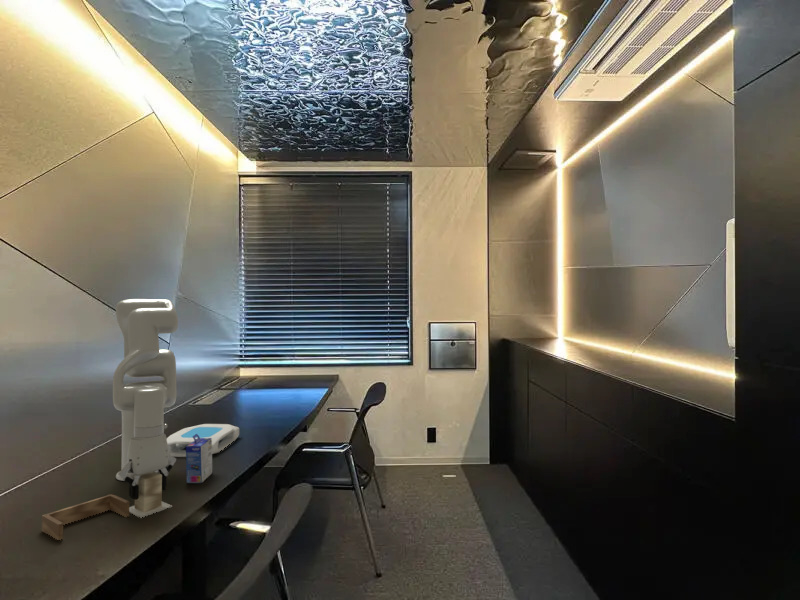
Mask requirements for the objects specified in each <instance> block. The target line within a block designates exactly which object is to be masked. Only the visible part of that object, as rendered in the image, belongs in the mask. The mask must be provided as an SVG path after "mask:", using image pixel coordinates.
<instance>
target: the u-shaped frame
mask: <svg viewBox="0 0 800 600" xmlns="http://www.w3.org/2000/svg"><path fill="white" fill-rule="evenodd" d="M129 507H130V501H129V500H128V499H124V498H122V497H121V496H118V495H115V494H113V493H111V494H107V495H105V496H101V497H99V498H98V497H97V498H94V499H91V500H89V501H85V502H80V503H78V504H75V505H72V506H68V507H65V508H62V509H58V510H56V511H55V510H54V511H52V512H49V513H45V514H42V515H41V532H43V533H44V534H45V535H47V534H48V535H47V536H49V535H50V536H49V537H51V536H52V537H53V539H54V538H55V539H54V540H56V539H57V540H60V541H62V540H61V539H63V540H64V526H66V525H65V524H67V525H69V524H68V523H70V524H72V523H71V522H73V523H75V522H74V521H76V522H79V521H81V519H82V520H85V519H87V517H88V518H90V517H89V516H91V517H93V515H94V516H97V515H100V514H103V513H105V511H106V512H108V510H109V511H110V510H111V512H113V511H114V512H113V513H115V512H116V514H117V513H118V514H117V515H119V514H120V515H119V516H121V515H122V516H121V517H123V516H124V518H128V517H130V513H129ZM102 512H103V513H102ZM99 513H100V514H99ZM96 514H97V515H96ZM127 516H128V517H127ZM84 518H85V519H84ZM78 520H79V521H78ZM63 525H64V526H63ZM52 537H51V538H52ZM57 540H56V541H57Z"/></svg>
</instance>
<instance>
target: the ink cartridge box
mask: <svg viewBox="0 0 800 600" xmlns="http://www.w3.org/2000/svg"><path fill="white" fill-rule="evenodd" d="M195 437H198V438H197V439H195ZM193 439H194V441H193V442H192V443H190V444H189V445H188V446H186V447H185V450H186V457H185V466H186V467H185V468H186V469H185V471H186V473H185V474H186V484H202V483H204V481H205V480H206V479H208V478H209V477H210V476H211V475H212V474H213V454H212V438H200V437H199V436H198V434H195V435H194V436H193Z"/></svg>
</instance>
